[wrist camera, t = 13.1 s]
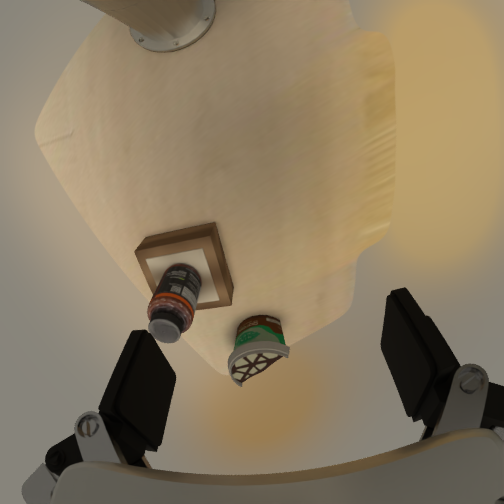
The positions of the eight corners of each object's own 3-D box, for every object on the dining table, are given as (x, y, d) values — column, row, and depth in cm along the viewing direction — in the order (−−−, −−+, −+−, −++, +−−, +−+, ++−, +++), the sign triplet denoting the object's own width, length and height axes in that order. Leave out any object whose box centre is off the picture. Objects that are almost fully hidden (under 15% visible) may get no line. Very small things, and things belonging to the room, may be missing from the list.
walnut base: (145, 237, 43) (133, 252, 38) (215, 222, 41) (209, 236, 37) (169, 296, 48) (162, 315, 43) (233, 287, 47) (231, 306, 42)
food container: (261, 298, 48) (262, 339, 39) (285, 315, 50) (290, 356, 41) (217, 334, 52) (212, 374, 43) (241, 349, 54) (239, 388, 45)
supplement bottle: (172, 298, 42) (152, 350, 32) (158, 266, 39) (131, 315, 29) (208, 292, 41) (195, 347, 31) (195, 258, 38) (176, 309, 28)
